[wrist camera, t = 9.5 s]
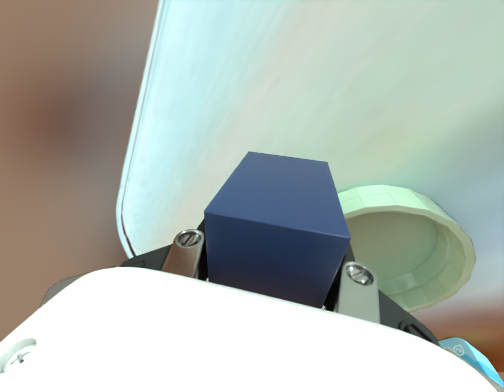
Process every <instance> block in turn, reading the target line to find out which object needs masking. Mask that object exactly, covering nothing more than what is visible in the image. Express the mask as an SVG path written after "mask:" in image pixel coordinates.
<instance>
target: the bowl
mask: <svg viewBox="0 0 504 392" xmlns="http://www.w3.org/2000/svg"><path fill="white" fill-rule="evenodd" d="M338 198H339V201H340V204H341V207H342V210H343V214H344V217H345V220H346V223H347V226H348V230H349V233H350V236H351V240H350V244H351V247H352V251H353V254H354V257H355V261H356V262H358V263H361V264H363V265H365V266H367V267H368V268H370V269H371V270H372V271H373V272H374V274H375V275H376V277H377V281H378V289H379V290H380V291H382V292H383V293H384V294H385V295H387V296H388V297H389V298H390V299H392V300H393V301H394V302H395V303H397V304H398V305H399V306H400V307H402V308H403V309H404V310H405V311H407V312H408V313H410V312H414V311H417V310H421V309H424V308H427V307H431V306H433V305H436V304H438V303H439V302H441V301H443V300H445V299H447V298H448V297H450V296H452V295H454V294H455V293H456V292H457V291H458V290H459V289H460V288H461V287H462V286H463V285H464V284H465V283H466V282H467V281H468V280H469V278H470V276H471V273H472V270H473V267H474V264H475V261H476V258H475V253H474V249H473V244H472V240H471V238H470V237H469V236H468V235H467V234H466V233H465V232H464V231H463V230H462V229H461V228H460V226H459V225H458V224H457V223H456V222H455V221H454V220H453V219H452V218H451V217H449V216H448V215H447V214H446V213H445V212H444V211H443V210H442V209H441V208H440V207H439V206H438V205H437V204H436V203H434V202H433V201H432V200H431V199H429V198H427V197H425V196H423V195H421V194H419V193H417V192H415V191H413V190H411V189H407V188H400V187H394V186H387V185H373V186H364V187H355V188H352V189H350V190H347V191H344V192H341V193H339V194H338Z"/></svg>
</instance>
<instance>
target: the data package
mask: <svg viewBox="0 0 504 392" xmlns="http://www.w3.org/2000/svg"><path fill="white" fill-rule="evenodd" d="M438 342H439V344H440V347H442V348H443V349H446V348H449V349H450V350H452V351H453V352H454V353H456V354H457V355H459V356H460V357H461V358H463V359H464V360H466V361H467V362H469V363H470V364H471V365H473V366H474V367H476V368H477V369H478V370H480V371H481V372H483V373H484V374H485V375H487V376H488V377H490V378H491V379H493V380H494V381H495V382H497V383H498V384H500V385H501V386H502V387H504V383H503V381H502V380H501V378H500V377H499V375H498V374H497V372H496V371H495V369H494V368H493V366H492V364H491V363H490V361H489V360H488V359H487V358H486V357H485V356H484V355H483V354H482V353H480V352H479V351H478V350H476V349H475V348H474V347H473V346H471V345H470V344H469V343H467V342H466V341H465V340H463V339H460V338H457V337H452V338H448V339H444V340H440V341H438Z"/></svg>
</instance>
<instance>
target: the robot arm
mask: <svg viewBox="0 0 504 392" xmlns="http://www.w3.org/2000/svg"><path fill="white" fill-rule="evenodd" d="M207 278H208V264H207V249H206V234H205V219H203V221H202V222H201V224H200V225H199V227H198V228H197V229H188V230H184V231H182V232H180V233H179V234H178V235H177V236H176V237H175V239H174V241H173V244H171V245H168V246H165V247H162V248H159V249H157V250H154V251H151V252H148V253H145V254H142V255H139V256H136V257H133V258H130V259H128V260H127V261H125V262H124V263H123V264H122V265H121V266H120V267H117V268H116V267H115V266H112V267H108V268H104V269H100V270H96V271H92V272H88V273H84V274H80V275H76V276H72V277H68V278H65V279H63V280H60V281H59V282H57V283H55V284H54V285H53V286H52V287H50V288H49V289H48V291H47V292H46V294H45V295H44V298H43V300H42V303H41V305H40V307H39V309H38V310H37V311H36V312H35V313H34V314H32V315H31V316H30V317H29V318H28V319H27V320H26V321H24V322H23V323H22V324H21V325H20V326H19V327H17V328H16V329H15V330H14V331H13V332H12V333H11V334H10V335H8V336H7V337H6V338H5V339H4V340H3V341H2V342H0V392H504V387H502V386H501V385H500V384H498V383H497V382H495V381H494V380H493V379H491V378H490V377H488V376H487V375H485V374H484V373H483V372H481V371H480V370H478V369H477V368H476V367H474V366H473V365H471V364H470V363H469V362H467V361H466V360H464V359H463V358H461V357H460V356H459V355H457V354H456V353H454V352H453V351H452V350H450V349H449V348H446V349H443V348H442V347H440V344H439V342H438V340H437V339H436V337H435V336H434V335H433V334H432V332H431V331H430V330H429V329H428V328H426V327H425V326H424V325H423V324H422V323H420V322H419V321H418V320H417V319H415V318H414V317H413V316H412V315H410V314H409V313H408V312H407V311H405V310H404V309H403V308H402V307H400V306H399V305H398V304H397V303H395V302H394V301H393V300H392V299H390V298H389V297H388V296H387V295H385V294H384V293H383V292H382V291H380V290H379V289H378V281H377V277H376V275H375V274H374V272H373V271H372V270H371V269H370V268H368V267H367V266H365V265H363V264H361V263H358V262H356V261H355V257H354V254H353V251H352V247H351V244H350V243H349V245H348V247H347V250H346V252H345V254H344V257H343V259H342V261H341V264H340V266H339V268H338V271H337V273H336V276H335V278H334V280H333V283H332V285H331V287H330V290H329V292H328V294H327V297H326V299H325V301H324V304H323V305H324V306H325V308H324V310H323V309H318V308H314V307H310V306H306V305H302V304H298V303H294V302H290V301H286V300H282V299H278V298H274V297H269V296H265V295H261V294H257V293H253V292H249V291H244V290H240V289H236V288H232V287H228V286H223V285H219V284H215V283H211V282H207Z"/></svg>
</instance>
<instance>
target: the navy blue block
mask: <svg viewBox="0 0 504 392" xmlns="http://www.w3.org/2000/svg"><path fill="white" fill-rule="evenodd" d="M204 219H205V234H206V249H207V264H208V279H209V282H211V283H215V284H219V285H223V286H228V287H232V288H236V289H240V290H244V291H249V292H253V293H257V294H261V295H265V296H269V297H274V298H278V299H282V300H286V301H290V302H294V303H298V304H302V305H306V306H310V307H314V308H318V309H321V308H322V306H323V304H324V301H325V299H326V297H327V294H328V292H329V290H330V287H331V285H332V283H333V280H334V278H335V276H336V273H337V271H338V268H339V266H340V264H341V261H342V259H343V257H344V254H345V252H346V250H347V247H348V245H349V243H350V240H351V236H350V233H349V230H348V226H347V223H346V220H345V217H344V214H343V210H342V207H341V204H340V201H339V198H338V194H337V191H336V188H335V185H334V182H333V178H332V175H331V172H330V169H329V166H328V162H323V161H315V160H308V159H301V158H293V157H286V156H279V155H271V154H264V153H257V152H248V153H247V154H246V156H245V157H244V158H243V160H242V161H241V162H240V164H239V165H238V166H237V168H236V169H235V170H234V172H233V173H232V174H231V176H230V177H229V178H228V180H227V181H226V182H225V184H224V185H223V186H222V188H221V189H220V190H219V192H218V193H217V194H216V196H215V197H214V198H213V200H212V201H211V202H210V204H209V205H208V206H207V208H206V209H205V210H204Z"/></svg>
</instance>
